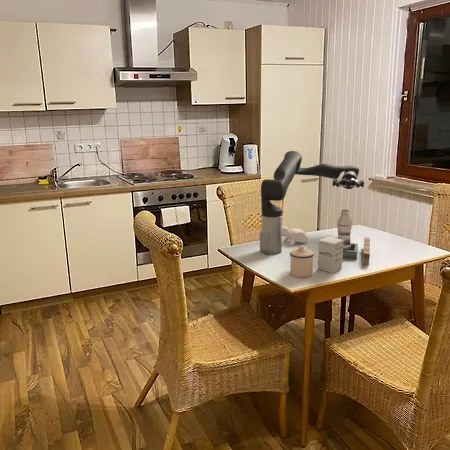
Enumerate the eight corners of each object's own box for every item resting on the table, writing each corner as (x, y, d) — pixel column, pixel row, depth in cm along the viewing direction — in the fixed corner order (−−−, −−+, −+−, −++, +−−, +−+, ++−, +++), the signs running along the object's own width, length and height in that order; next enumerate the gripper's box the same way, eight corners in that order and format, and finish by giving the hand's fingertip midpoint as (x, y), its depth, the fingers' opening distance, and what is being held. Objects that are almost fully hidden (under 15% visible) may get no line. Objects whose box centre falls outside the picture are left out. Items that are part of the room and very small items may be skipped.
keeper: (356, 259, 195) (357, 251, 194) (327, 257, 199) (327, 249, 198) (357, 250, 206) (358, 243, 205) (329, 248, 210) (330, 241, 209)
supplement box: (317, 269, 184) (318, 239, 181) (326, 264, 189) (328, 236, 186) (333, 273, 179) (334, 243, 176) (342, 269, 184) (344, 239, 181)
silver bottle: (351, 256, 199) (353, 212, 194) (335, 255, 200) (337, 212, 195) (350, 252, 205) (352, 209, 200) (335, 251, 206) (337, 208, 201)
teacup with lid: (317, 276, 177) (318, 247, 174) (297, 279, 174) (298, 251, 171) (300, 266, 188) (301, 239, 185) (281, 269, 184) (282, 242, 181)
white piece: (299, 245, 226) (272, 236, 222) (305, 229, 225) (279, 220, 221) (305, 250, 218) (278, 241, 214) (312, 234, 217) (285, 225, 212)
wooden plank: (368, 265, 188) (369, 253, 187) (362, 264, 189) (363, 253, 188) (369, 248, 210) (369, 237, 209) (363, 247, 211) (364, 237, 210)
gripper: (334, 172, 221) (332, 176, 206) (365, 172, 217) (364, 177, 202) (334, 187, 223) (331, 192, 208) (364, 188, 219) (363, 194, 204)
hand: (347, 185), depth 205 cm, fingers open, 8 cm apart
